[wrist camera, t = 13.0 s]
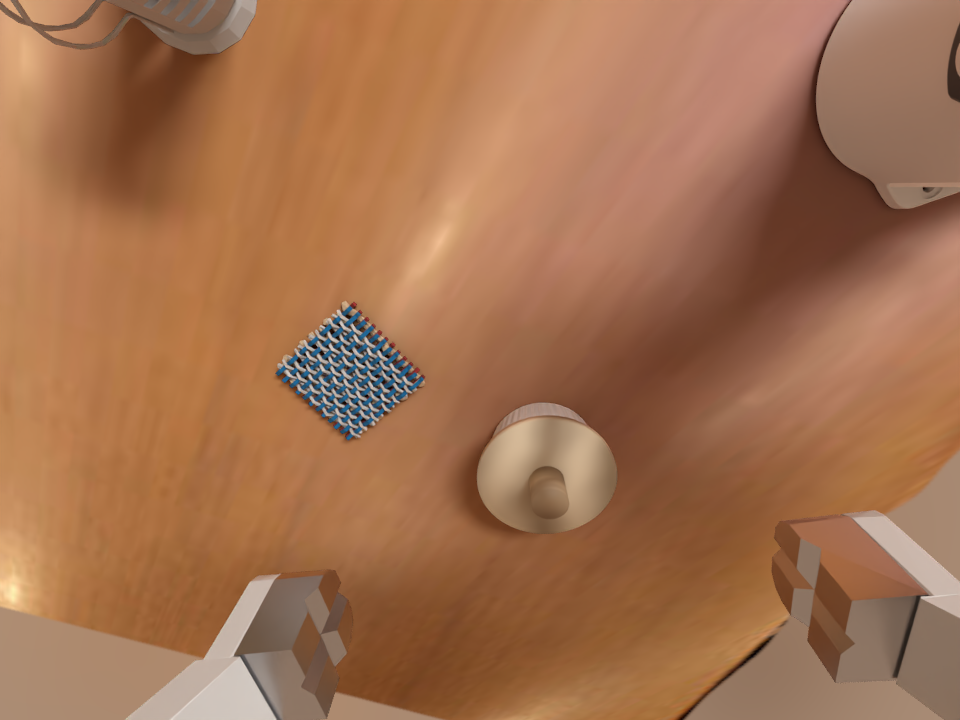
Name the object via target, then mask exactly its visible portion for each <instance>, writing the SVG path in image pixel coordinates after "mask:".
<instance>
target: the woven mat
mask: <svg viewBox="0 0 960 720" xmlns="http://www.w3.org/2000/svg"><path fill="white" fill-rule="evenodd" d="M356 305H357V304H356V303H355V302H353V303H352V304H351V305H349V304H348V303H347V302H346V301H344V302H342V303H341V306H342V309H343V312H342V313H341V312H340V310H337V314H336V315H334V314H332V317H334V318H335V319H334V320H333V321H332V320H331V318H325V319H324V320H323V325H325V326H327V327H326V328H325V327H323V326H322V325H320V327H319V328H320V329H319V331H320V333H319V332H318V330H315V333H316V335H317V336H316V335H315V334H314V333H313V332H311V333H310V334H309V335H308V338H309V339H310V340H311V341H310V342H309V343H308V344H307V342H306V340H302V341H299V345H298V346H297V347H298V348H300V349H301V350H299V349H298V350H297V349H296V348H295V349H294V352H295V353H296V355H295V356H294V357H291V356H290V355H285V356H284V357H283V360H282V361H283V363H284V364H283V363H282V364H280V363H278V364H277V365H278V366H277V367H278V368H279V370H278V371H277V372H276V373H275V374H277V375H278V376H279V375H280V374H281V373H282V372H284V373H285V374H286V376H285V377H284V378H283V379H282V381H283V382H284V383H285V382H286V381H287V380H288V379H289V380H290V382H291V384H290V385H289V386H290V387H291V388H293V387H294V386H296V387H297V388H298V389H297V390H296V392H295V393H297V394H298V395H299V394H300V393H301V392H302V393H304V395H303V396H302V398H303V399H304V400H306V399H307V398H310V401H309V403H308V404H309V405H310V406H312V405H313V404H315V405H317V407H316V408H315V410H316V411H317V412H318V411H320V410H321V409H322V410H323V412H322V413H321V416H322V417H323V418H324V417H325V416H328V417H329V420H328V421H329V422H330V423H331V422H333V421H335V422H336V423H335V424H334V425H333V426H334V428H335V429H337V428H339V427H340V426H341V425H342V426H343V427H342V428H341V429H340V432H341V433H342V434H343V433H345V432H347V431H348V430H349V431H350V432H349V433H348V434H347V435H346V436H345V437H346V439H347V440H349V439H350V438H352V437H353V436H355V437H356V438H357V437H359V438H360V435H359V433H360V434H361V433H362V432H364V431H367V425H369V424H370V425H371V426H374V425H375V420H376V421H378V420H380V419H382V417H383V414H382V413H383V412H384V411H387V413H390V412H391V410H390V409H389V408H391V407H393V408H394V407H395V406H394V404H395V403H398V404H399V403H400V402H399V401H398V400H402V401H404V400H407V397H408V396H407V394H408V393H410V394H412V392H415V391H416V390H417V388H416V387H417V386H419V387H422V386H424V385H425V381H424V378H425V376H424V375H421V376H420V375H419V374H418V372H419V371H420V369H419V368H418V367H417V368H416V369H413V368H412V366H413V364H412V363H411V362H410V363H409V364H408V363H407V361H406V360H407V358H406V357H405V356H404V357H402V356H401V355H400V353H401V352H400V351H399V350H397V351H396V350H395V349H392V348H393V347H394V346H395V344H394V343H391V344H390V345H388V342H387V341H388V338H387V337H385V338H383V337H382V336H381V334H382V332H381V331H380V330H379V331H378V332H377V331H376V330H375V329H374V328H375V327H376V326H375V325H374V324H372V325H370V324H369V323H368V321H369V320H370V319H369V318H368V317H366V318H364V317H363V316H362V315H361V314H362V313H363V312H362V311H361V310H359V311H357V310H355V309H353V308H354V307H355V306H356ZM346 315H349V316H351V318H350V319H347V318H346V317H345V316H346ZM355 320H357V321H358V322H359V324H358V325H356V326H354V325H353V322H354V321H355ZM338 322H339V323H340V325H341V327H339V326H338V325H337V323H338ZM361 327H364V328H365V329H366V330H365V331H364V332H363V333H362V332H360V331H359V329H360V328H361ZM330 329H332V330H333V331H334V333H333V334H332V335H331V334H330V332H329V330H330ZM344 330H346V331H347V332H348V333H346V332H345V331H344ZM369 333H370V334H371V335H372V337H371V338H370V339H367V337H366V336H367V335H368V334H369ZM338 335H339V337H340V340H339V341H338V340H337V339H335V338H336V337H337V336H338ZM352 337H353V338H354V339H355V340H354V339H353V338H352ZM320 339H321V340H323V341H324V342H322V341H321V340H320ZM375 340H377V341H378V342H379V343H378V344H377V345H373V344H372V342H374V341H375ZM343 343H345V344H346V345H348V346H347V347H346V348H345V347H344V346H343ZM313 344H315V345H317V346H318V348H316V349H314V348H312V347H311V346H312V345H313ZM327 345H329V347H330V349H329V348H328V347H327ZM380 348H382V351H381V352H380V351H379V349H380ZM336 349H337V350H336ZM350 349H352V350H353V353H350V352H349V350H350ZM321 350H322V351H323V352H324V353H325V354H324V355H321V354H320V353H319V352H320V351H321ZM366 350H367V351H366ZM334 352H335V353H337V355H336V354H335V353H334ZM304 353H306V355H307V356H306V355H305V354H304ZM385 355H388V356H390V357H389V358H386V357H384V356H385ZM356 356H357V357H358V360H357V359H356ZM371 356H372V357H374V359H373V358H372V357H371ZM313 357H314V358H313ZM327 357H328V359H329V362H328V361H327V360H326V358H327ZM298 358H300V359H301V360H302V362H301V363H298V362H297V361H296V360H297V359H298ZM340 358H342V359H343V361H341V360H340ZM394 359H395V360H396V361H397V362H396V363H395V364H392V361H393V360H394ZM311 360H312V361H314V363H313V362H312V361H311ZM286 362H287V363H286ZM349 362H350V363H349ZM377 362H379V363H380V365H378V364H377ZM362 363H364V364H366V366H363V365H362ZM290 365H292V366H294V367H295V368H293V367H291V366H290ZM304 365H305V366H306V368H307V370H306V369H305V368H304V367H303V366H304ZM318 365H319V367H320V368H321V369H320V368H319V367H318ZM332 365H334V366H335V368H334V367H333V366H332ZM400 366H402V367H403V369H401V370H400V371H399V370H397V368H399V367H400ZM369 369H371V370H372V371H369ZM383 369H385V371H383ZM291 370H292V371H291ZM327 370H328V371H327ZM354 370H355V371H354ZM358 370H359V371H358ZM298 371H299V372H300V373H301V375H300V374H299V372H298ZM338 371H340V372H342V374H341V373H340V372H338ZM310 372H311V373H312V374H310ZM355 372H356V373H355ZM407 372H408V373H409V375H408V376H406V377H405V376H404V375H405V374H406V373H407ZM295 373H296V374H295ZM377 374H378V375H379V377H378V378H375V377H373V376H375V375H377ZM296 375H297V377H296ZM390 375H392V376H393V377H391V378H390V377H389V376H390ZM304 377H305V378H307V379H308V380H305V379H303V378H304ZM345 377H346V378H348V380H346V378H345ZM361 378H362V379H361ZM413 378H414V379H415V381H414V382H412V383H411V382H409V381H410V380H412V379H413ZM317 379H319V380H320V382H319V381H318V380H317ZM383 380H384V381H385V383H384V384H383V385H382V383H381V382H382V381H383ZM395 381H396V382H398V383H395ZM311 383H312V384H313V385H314V387H313V386H312V384H311ZM352 383H354V385H355V386H353V385H351V384H352ZM366 383H368V385H367V384H366ZM323 385H325V386H327V387H325V388H324V386H323ZM338 385H339V386H338ZM375 387H376V388H375ZM388 387H391V389H390V390H387V389H386V388H388ZM403 387H404V389H401V388H403ZM330 390H331V391H332V392H333V393H331V392H328V391H330ZM344 390H345V391H346V392H345V391H344ZM358 390H361V392H359V391H358ZM373 390H374V391H373ZM394 393H395V396H394V395H393V394H394ZM352 394H353V395H352ZM366 394H367V395H368V397H367V398H366V397H365V395H366ZM383 394H384V395H383ZM379 395H380V397H378V396H379ZM336 397H338V398H339V399H337V398H336ZM387 398H388V399H389V400H388V399H387ZM330 401H331V402H332V403H333V404H332V403H330ZM344 401H345V402H346V404H345V405H344V404H343V403H342V402H344ZM371 401H372V403H371ZM384 401H385V402H387V403H385V402H384ZM356 402H358V404H357V405H356ZM365 406H366V407H365ZM337 407H338V408H339V410H338V408H337ZM376 407H378V408H379V409H377V408H376ZM349 408H350V410H349ZM334 409H335V411H334ZM363 409H364V410H363ZM342 413H344V414H345V415H344V414H342ZM355 414H357V416H356V415H355ZM369 414H370V415H369ZM349 418H350V419H351V421H350V419H349ZM362 418H364V419H365V420H363V421H360V420H361V419H362Z"/></svg>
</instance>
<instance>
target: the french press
mask: <svg viewBox="0 0 960 720" xmlns="http://www.w3.org/2000/svg"><path fill="white" fill-rule="evenodd" d="M102 1H106V2H109V3H111V4H114V5H116V6H118V7H121V8H123V9H125V10H128V11H130V12H132V13H126V14H125V16H124V17H123V18H122V20H121V21H120V22H119V23H118V25H117V26H116V27H115V29H114V30H113V31H112V32H111V33H110V34H109V35H108V36H106V37H105V38H104V39H103V40H102V41H99V42H96V43H92V44H73V43H69V42H66V41H63V40H59V39H56V38H53V37H52V36H50V35H49V34H47V33H46V32H44V31H61V30H67V29H73V28H77V27H78V26H80V25H81V24H83V23H84V22H86V21H87V20H89V19H90V17H91V16H92V15H93V13H94V12H95V11H96V9H97V8H98V7H99V5H100V4H101V3H102ZM11 2H12V3H13V4H14V6H15V7H16V9H17V10H18V12H19V13H20V15H21V16H22V18H23V19H22V18H21V17H19V16H18V15H16V14H15V13H13V12H12V11H10V10H9V9H8V8H6V7H5V6H4V5H3V4H2V3H1V2H0V10H2V11H3V12H4V13H5V14H6V15H8V16H9V17H11V18H12V19H14V20H15V21H17V22H18V23H21V24H24V25H27V26H31V27H32V28H33V29H35V30H36V31H37V32H38V33H40V34H41V35H42V36H43V37H45V38H46V39H48V40H49V41H51V42H52V43H54V44H56V45H61V46H66V47H70V48H75V49H80V50H81V49H92V48H96V47H100V46H104V45H106V44H107V43H108V42H110V41H111V40H112V39H114V38H115V37H117V35H118V34H119V33H120V31H121V30H122V29H123V27H124V26H125V25H126V23H127V22H128V21H129V19H131V18H136V19H138V20H141V22H142V23H143V24H144V25H146V26H147V27H148V28H149V29H150V30H151V31H152V32H153V33H155V34H156V35H157V36H158V37H159V38H160V39H161V40H162V41H163V42H165V43H166V44H168V45H170V46H173V47H175V48H178V49H180V50H183V51H185V52H188V53H190V54H193V55H196V54H214V53H220V52H222V51H224V50H225V49H227V48H228V47H230V46H231V45H233V44H235V43H236V42H238V41H239V40H241V38H242V37H243V35H244V33H245V31H246V30H247V28H248V26H249V24H250V23H251V21H252V19H253V18H254V16H255V11H256V4H257V0H96V1H95V2H94V3H93V4H92V5H91V7H90V8H89V9H88V10H87V11H86V12H85V14H83V15H82V16H81V17H80V18H79V19H77V20H76V21H75V22H74V23H70V24H65V25H60V26H49V25H42V24H38V23H34V22H32V21H31V20H30V18H29V17H28V15H27V14H26V12H25V11H24V9H23V8H22V6H21V5H20V3H19V2H18V0H11Z"/></svg>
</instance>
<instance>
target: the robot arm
mask: <svg viewBox="0 0 960 720" xmlns="http://www.w3.org/2000/svg"><path fill="white" fill-rule="evenodd" d="M816 110H817V117H818V122H819V127H820V130H821V133H822V135H823V138H824V140H825V142H826V144H827V146H828V147H829V149H830V150H831V152H832V153H833V154H834V155H835V156H836V158H837V159H838V160H839V161H840V162H842V163H843V164H844V165H845V166H847V167H848V168H850V169H851V170H853V171H855V172H857V173H859V174H861V175H863V176H865V177H866V178H868V179H869V180H871V181H872V182H873V183H874V185H875V187H876V189H877V190H878V192H879V194H880V195H881V197H882V199H883V200H884V201H885V203H886V204H887V205H888V206H890V207H891V208H894V209H911V208H915V207H918V206H921V205H924V204H926V203H929V202H932V201H935V200H938V199H941V198H944V197H947V196H949V195H952V194H955V193H958V192H960V0H852V1H851V2H850V4H849V5H848V7H847V8H846V10H845V11H844V13H843V14H842V16H841V18H840V20H839V21H838V23H837V25H836V27H835V29H834V31H833V33H832V35H831V37H830V39H829V42H828V44H827V47H826V49H825V52H824V55H823V58H822V62H821V65H820V69H819V74H818V80H817V88H816ZM923 187H926V188H925V189H924V190H923ZM774 539H775V540H776V541H777V543H778V544H779V545H780V547H781V549H780V550H779V551H778V552H777V553H776V554H775V555H774V556H773V557H772V575H773V579H774V583H775V587H776V590H777V592H778V594H779V596H780V598H781V601H782V602H783V604H784V605H785V607H786V609H787V610H788V612H789V613H790V615H791V616H793V617H794V618H796V619H797V620H799V621H800V622H802V623H804V624H805V625H807V626H808V627H809V631H808V642H809V644H810V645H811V647H812V648H813V650H814V651H815V653H816V654H817V656H818V657H819V659H820V660H821V662H822V663H823V665H824V666H825V668H826V669H827V671H828V672H829V674H830V675H831V677H832V678H833V680H834V682H835V683H843V682H868V681H892V680H897V681H896V684H897V685H898V686H900V687H901V688H902V689H904V690H905V691H906V692H908V693H909V694H910V695H912V696H913V697H914V698H916V699H917V700H918V701H920V702H921V703H922V704H924V705H925V706H926V707H928V708H929V709H930V710H932V711H933V712H934V713H936V714H937V715H938V716H940V717H941V718H943V719H944V720H960V582H959V581H958V580H957V579H956V578H955V577H954V576H952V575H951V574H950V573H949V572H948V571H947V570H946V569H945V568H943V567H942V566H941V565H940V564H939V563H938V562H936V560H934V559H933V558H932V557H931V556H930V555H929V554H928V553H927V552H925V551H924V550H923V549H922V548H921V547H920V546H919V545H918V544H916V543H915V542H914V541H913V540H912V539H911V538H910V537H909V536H907V535H906V534H905V533H904V532H903V531H902V530H901V529H899V528H898V527H897V526H896V525H895V524H894V523H893V522H892V521H891V520H889V519H888V518H887V517H886V516H885V515H883V514H881V513H879V512H877V511H875V510H873V511H864V512H856V513H847V514H841V515H828V516H820V517H811V518H803V519H794V520H786V521H779V523H778V524H777V526H776V527H775V535H774ZM340 584H341V582H340V580H339V578H338V575H337V573H336V571H335V570H318V571H305V572H292V573H282V574H273V575H260V576H257V577H256V578H254V579H253V580H252V581H250V583H249V584H248V586H247V588H246V589H245V591H244V593H243V594H242V596H241V598H240V599H239V601H238V603H237V604H236V606H235V608H234V609H233V611H232V613H231V614H230V616H229V618H228V619H227V621H226V622H225V624H224V626H223V627H222V629H221V631H220V632H219V634H218V636H217V637H216V639H215V641H214V642H213V644H212V646H211V647H210V649H209V651H208V652H207V654H206V656H205V657H204V659H202V660H195V661H194V662H193V663H192V664H190V665H189V666H188V667H187V668H186V669H184V670H183V671H182V672H181V673H180V674H179V675H177V676H176V677H175V678H174V679H173V680H171V681H170V682H169V683H168V684H167V685H165V686H164V687H163V688H162V689H161V690H160V691H158V692H157V693H156V694H155V695H154V696H153V697H151V698H150V699H149V700H148V701H146V702H145V703H144V704H143V705H142V706H141V707H139V708H138V709H137V710H136V711H135V712H134V713H132V714H131V715H130V716H129V717H127V718H126V719H125V720H320V719H327V716H328V713H329V710H330V707H331V704H332V700H333V697H334V694H335V691H336V688H337V684H338V681H339V676H338V673H337V670H336V667H335V666H336V665H337V664H338V663H339V662H340V661H341V659H342V658H343V657H344V656H345V655H346V654H347V652H348V649H349V645H350V642H351V638H352V628H353V616H352V610H351V606H350V604H349V601H348V599H347V598H345V597H344V596H343V595H341V594H340V593H338V589H339V587H340Z"/></svg>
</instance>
